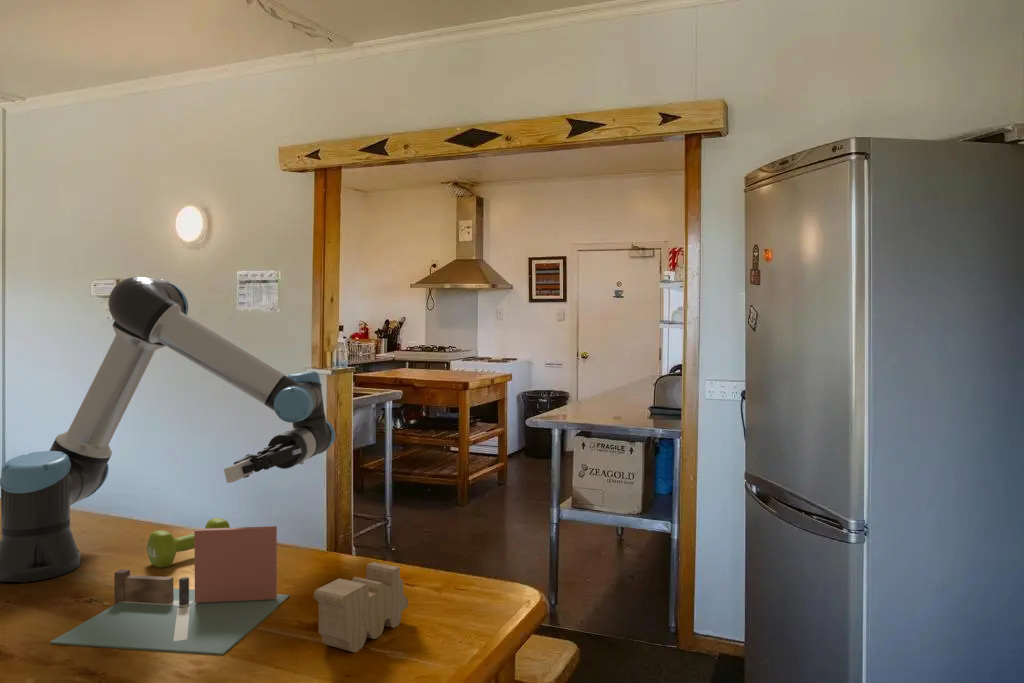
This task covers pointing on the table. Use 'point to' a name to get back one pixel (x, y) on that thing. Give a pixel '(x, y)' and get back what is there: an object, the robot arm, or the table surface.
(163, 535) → the dumbbell
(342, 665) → the table surface
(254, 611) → the card
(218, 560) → the gate panel
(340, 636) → the toy train
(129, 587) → the fence wall
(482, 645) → the table surface
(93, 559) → the table surface
